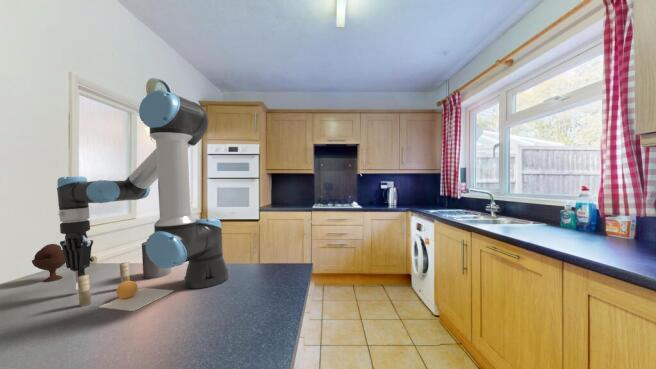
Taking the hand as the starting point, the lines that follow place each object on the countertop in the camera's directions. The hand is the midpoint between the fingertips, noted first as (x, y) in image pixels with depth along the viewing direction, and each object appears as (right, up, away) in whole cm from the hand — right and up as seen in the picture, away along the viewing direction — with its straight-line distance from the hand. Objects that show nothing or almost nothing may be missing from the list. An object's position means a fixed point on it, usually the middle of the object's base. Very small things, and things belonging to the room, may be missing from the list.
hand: (79, 288), depth 92 cm
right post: (+14, -1, +3) cm, 15 cm away
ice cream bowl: (-27, -4, +17) cm, 32 cm away
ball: (+21, +2, -6) cm, 22 cm away
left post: (+11, -1, -10) cm, 15 cm away
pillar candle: (+17, -1, +16) cm, 23 cm away
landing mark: (+26, -1, -7) cm, 27 cm away
